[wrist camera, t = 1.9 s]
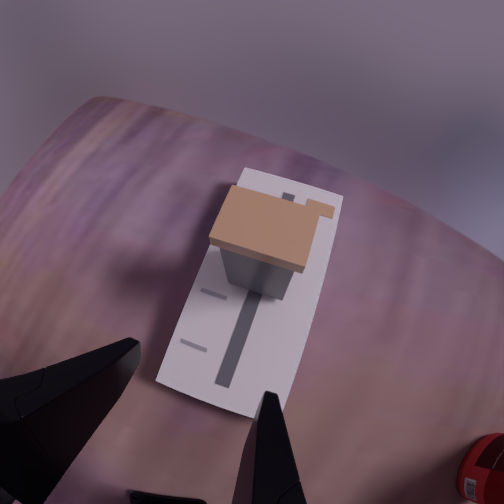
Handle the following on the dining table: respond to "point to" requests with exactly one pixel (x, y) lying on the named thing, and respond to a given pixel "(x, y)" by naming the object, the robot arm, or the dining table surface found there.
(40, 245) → the dining table surface
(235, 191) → the slider handle
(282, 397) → the dimmer panel
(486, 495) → the canned food
